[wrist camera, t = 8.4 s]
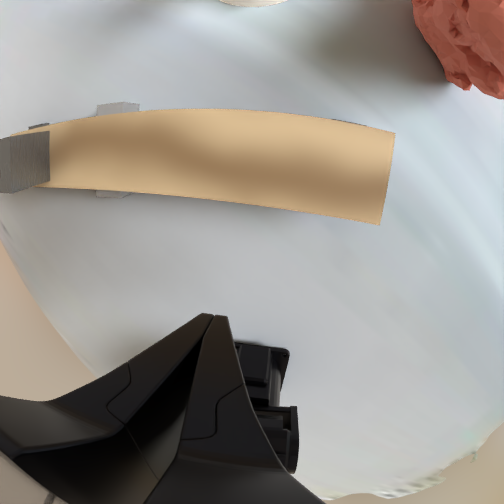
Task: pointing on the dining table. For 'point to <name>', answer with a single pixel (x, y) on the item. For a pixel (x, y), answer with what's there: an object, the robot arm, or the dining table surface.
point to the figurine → (252, 2)
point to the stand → (115, 109)
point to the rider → (24, 161)
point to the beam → (228, 159)
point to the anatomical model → (466, 40)
